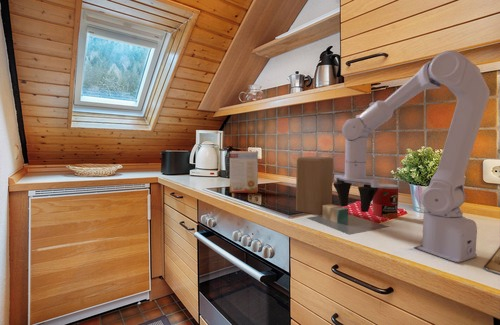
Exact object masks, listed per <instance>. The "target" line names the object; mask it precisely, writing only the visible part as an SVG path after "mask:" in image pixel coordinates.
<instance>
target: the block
mask: <svg viewBox="0 0 500 325" xmlns="http://www.w3.org/2000/svg"><path fill="white" fill-rule="evenodd" d="M333 168H334V159H333V157H331V156H329V157H327V156H301V157H300V156H299V157H297V159H296V186H295V187H296V189H295V193H296V194H295V211H296V212H299V213H305V214H312V215H315V216H322V212H323V205H330V204H333V183H334V182H333V181H334V180H333V179H334V177H333V175H334V173H333V172H334V169H333Z"/></svg>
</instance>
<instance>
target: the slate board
mask: <svg viewBox="0 0 500 325" xmlns="http://www.w3.org/2000/svg"><path fill="white" fill-rule="evenodd" d="M306 219H307V220H311V221H313V222H316V223H318V224H320V225H323V226H326V227H329V228H331V229H333V230H336V231H339V232H341V233H343V234H346V235H354V234H359V233H364V232H365V233H366V232H370V231H375V230H381V229H385V228H390V226H388V225H384V224H382V223H379V222H376V221H371V220H369V219H366V218H362V217H360V216H359V217H358V216H356V215H353V214H349V213H348V222H343V223H336V222H333V221H331V220H328V219H325V218H322V215H315V216H310V217H306Z"/></svg>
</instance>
